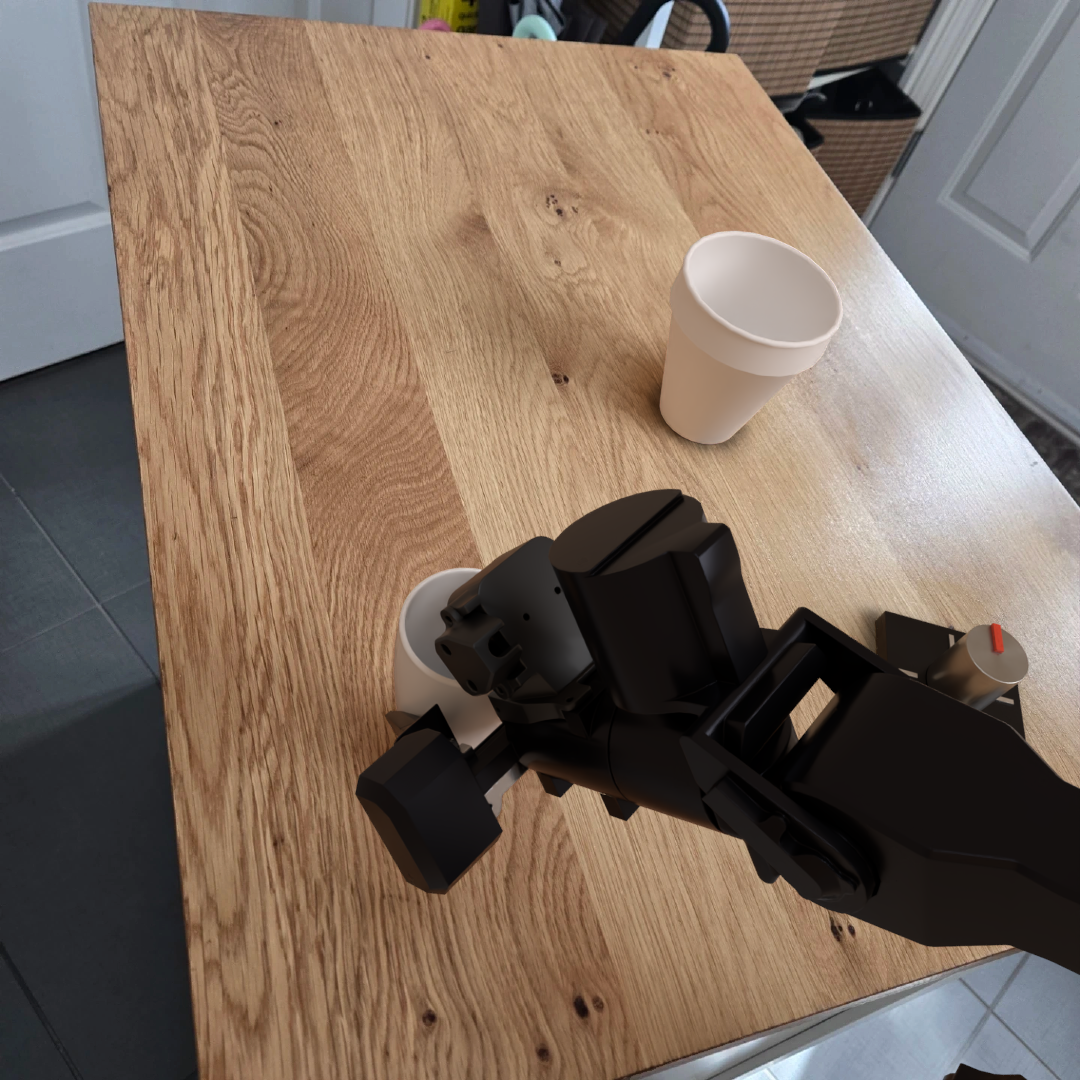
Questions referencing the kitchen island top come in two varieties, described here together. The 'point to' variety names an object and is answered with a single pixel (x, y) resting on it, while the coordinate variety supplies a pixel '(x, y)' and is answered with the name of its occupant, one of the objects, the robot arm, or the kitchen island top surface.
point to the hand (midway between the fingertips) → (437, 680)
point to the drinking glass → (436, 662)
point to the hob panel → (934, 658)
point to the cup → (741, 330)
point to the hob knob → (979, 666)
